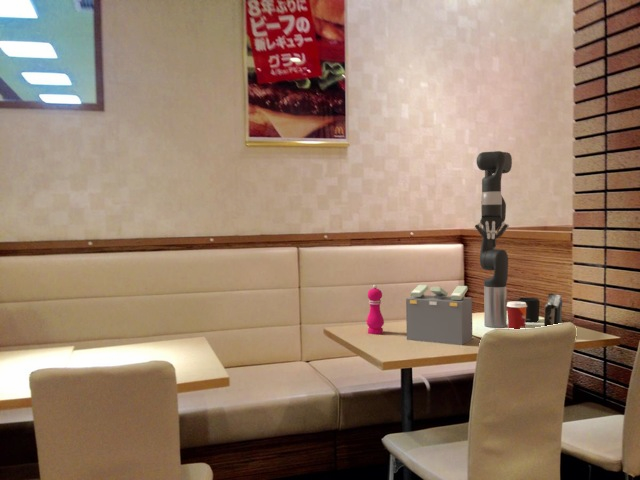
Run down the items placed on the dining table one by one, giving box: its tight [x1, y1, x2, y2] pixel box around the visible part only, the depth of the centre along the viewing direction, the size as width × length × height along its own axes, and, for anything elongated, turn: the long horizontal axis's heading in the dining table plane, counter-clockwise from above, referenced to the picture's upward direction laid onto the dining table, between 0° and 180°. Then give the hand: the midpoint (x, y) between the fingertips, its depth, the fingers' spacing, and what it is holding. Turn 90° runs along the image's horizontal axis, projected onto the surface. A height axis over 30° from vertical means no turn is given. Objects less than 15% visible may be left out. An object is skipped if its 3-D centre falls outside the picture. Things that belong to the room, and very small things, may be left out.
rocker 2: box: [429, 286, 448, 296], centre depth 224 cm, size 9×4×2 cm, turn 148°
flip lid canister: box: [506, 301, 527, 329], centre depth 223 cm, size 8×8×14 cm
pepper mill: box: [366, 284, 385, 335], centre depth 240 cm, size 7×7×20 cm
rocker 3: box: [449, 285, 468, 300], centre depth 220 cm, size 9×4×2 cm, turn 148°
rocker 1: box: [410, 284, 429, 297], centre depth 229 cm, size 9×4×2 cm, turn 148°
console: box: [405, 293, 473, 346], centre depth 225 cm, size 13×22×17 cm, turn 58°
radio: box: [543, 293, 563, 327], centre depth 232 cm, size 23×9×15 cm, turn 146°
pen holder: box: [517, 297, 541, 323], centre depth 260 cm, size 9×9×10 cm
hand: (491, 248), depth 222 cm, fingers closed
